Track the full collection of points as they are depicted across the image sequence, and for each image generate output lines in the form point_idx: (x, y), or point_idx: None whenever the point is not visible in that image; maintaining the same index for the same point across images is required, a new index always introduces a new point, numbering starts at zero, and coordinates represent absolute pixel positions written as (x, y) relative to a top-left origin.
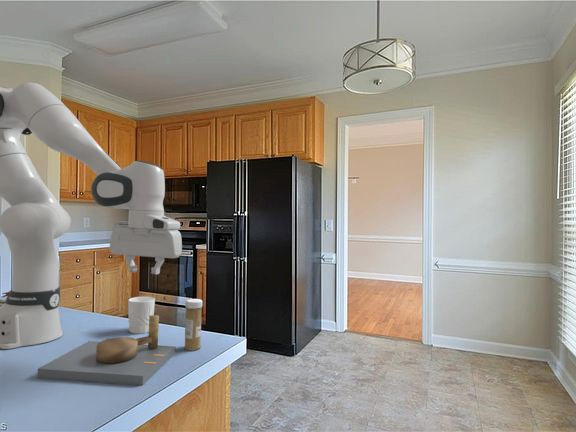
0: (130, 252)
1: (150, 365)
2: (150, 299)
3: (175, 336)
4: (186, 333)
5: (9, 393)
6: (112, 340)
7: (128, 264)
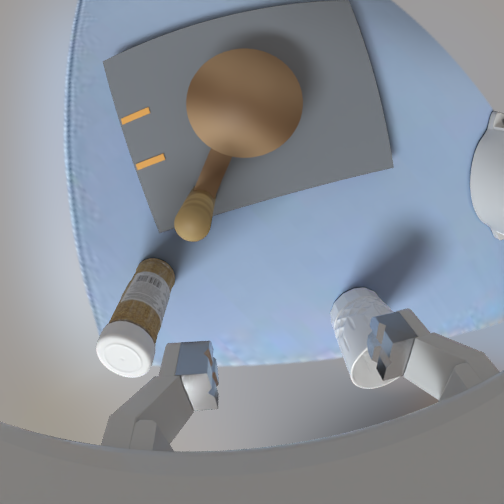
0: (477, 409)
1: (125, 106)
2: (372, 381)
3: (249, 317)
4: (150, 278)
5: None
6: (278, 113)
7: (437, 337)
